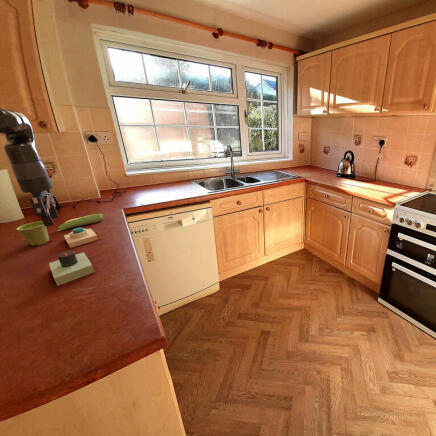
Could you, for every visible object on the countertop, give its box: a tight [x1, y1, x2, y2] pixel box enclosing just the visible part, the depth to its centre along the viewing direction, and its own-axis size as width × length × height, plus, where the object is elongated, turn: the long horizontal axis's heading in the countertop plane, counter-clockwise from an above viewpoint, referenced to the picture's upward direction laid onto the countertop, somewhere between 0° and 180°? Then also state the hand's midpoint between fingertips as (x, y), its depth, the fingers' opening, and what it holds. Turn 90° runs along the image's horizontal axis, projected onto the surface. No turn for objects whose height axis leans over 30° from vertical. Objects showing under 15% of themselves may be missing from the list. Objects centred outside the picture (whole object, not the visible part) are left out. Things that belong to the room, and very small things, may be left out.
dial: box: [57, 250, 78, 267], centre depth 85 cm, size 4×4×4 cm
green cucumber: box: [56, 212, 105, 232], centre depth 126 cm, size 5×20×5 cm, turn 135°
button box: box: [63, 228, 99, 249], centre depth 110 cm, size 12×10×4 cm
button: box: [72, 226, 84, 234], centre depth 109 cm, size 4×4×2 cm
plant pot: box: [16, 220, 50, 247], centre depth 107 cm, size 9×9×9 cm
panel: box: [48, 251, 96, 287], centre depth 86 cm, size 14×10×3 cm
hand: (52, 221), depth 85 cm, fingers open, 8 cm apart
